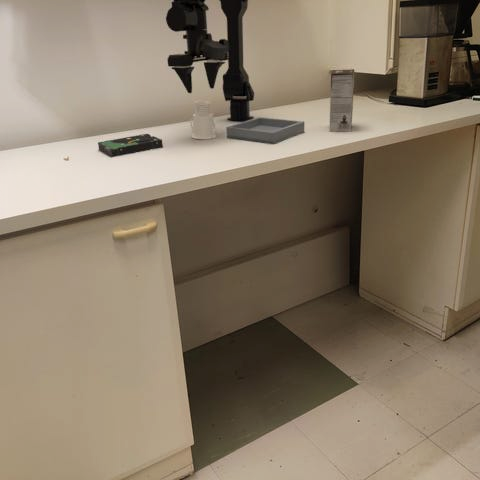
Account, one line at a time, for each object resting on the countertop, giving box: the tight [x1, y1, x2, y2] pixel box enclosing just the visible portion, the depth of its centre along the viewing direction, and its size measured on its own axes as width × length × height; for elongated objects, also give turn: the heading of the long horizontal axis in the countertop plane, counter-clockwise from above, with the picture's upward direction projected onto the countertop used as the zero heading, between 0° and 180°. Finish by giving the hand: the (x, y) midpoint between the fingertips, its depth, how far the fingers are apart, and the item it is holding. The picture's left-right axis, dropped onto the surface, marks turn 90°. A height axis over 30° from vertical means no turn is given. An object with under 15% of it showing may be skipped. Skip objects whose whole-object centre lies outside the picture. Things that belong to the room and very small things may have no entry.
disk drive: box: [97, 133, 164, 158], centre depth 131 cm, size 10×3×15 cm
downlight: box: [189, 100, 218, 140], centre depth 138 cm, size 8×7×10 cm
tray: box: [226, 116, 305, 145], centre depth 138 cm, size 16×16×3 cm
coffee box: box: [329, 68, 355, 132], centre depth 139 cm, size 9×6×16 cm
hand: (201, 90), depth 134 cm, fingers open, 9 cm apart
